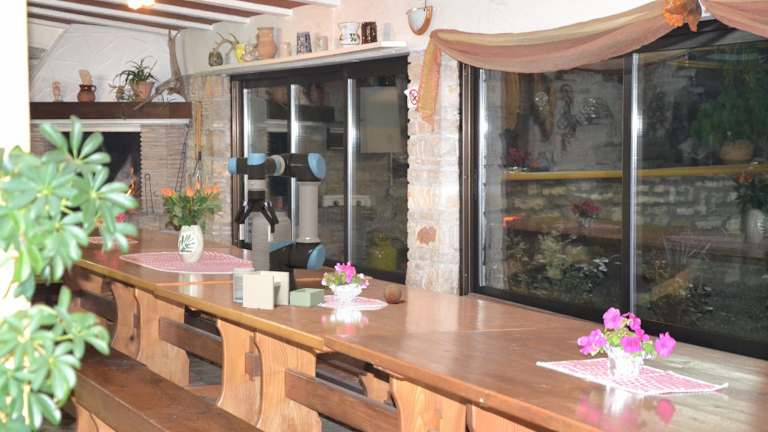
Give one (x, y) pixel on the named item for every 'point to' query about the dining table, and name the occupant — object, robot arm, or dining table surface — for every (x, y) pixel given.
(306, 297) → the tray
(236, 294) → the supplement tub
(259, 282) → the box
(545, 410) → the dining table surface
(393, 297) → the fruit
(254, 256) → the vase
